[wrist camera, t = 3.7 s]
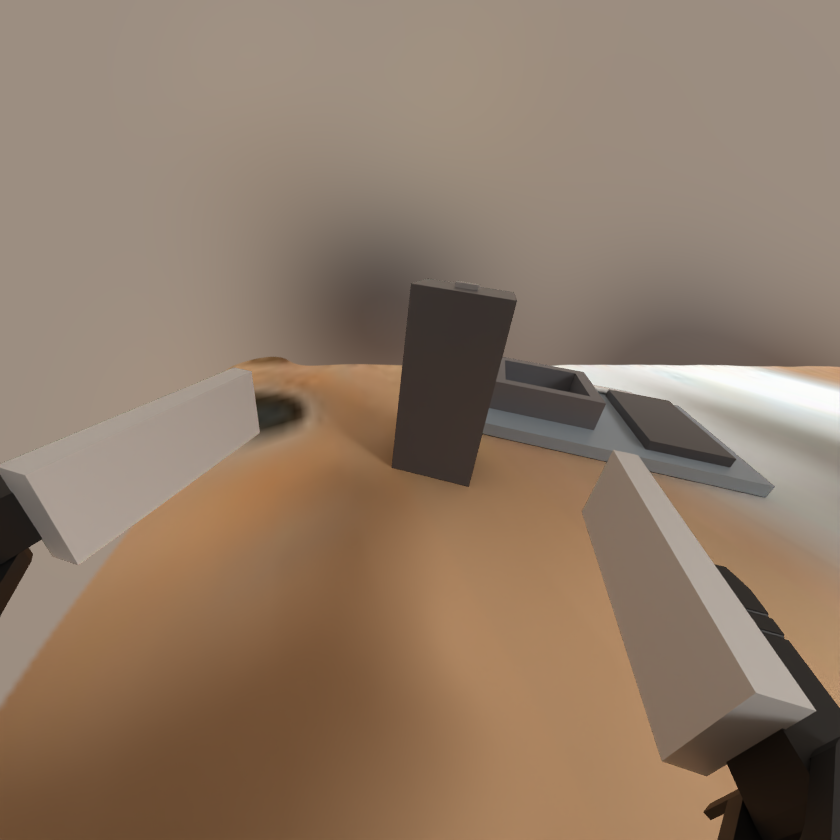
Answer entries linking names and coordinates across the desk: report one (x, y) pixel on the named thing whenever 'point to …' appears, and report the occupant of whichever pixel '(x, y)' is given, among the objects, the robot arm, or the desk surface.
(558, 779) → the desk surface
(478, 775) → the desk surface
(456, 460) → the brick
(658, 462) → the charging dock
